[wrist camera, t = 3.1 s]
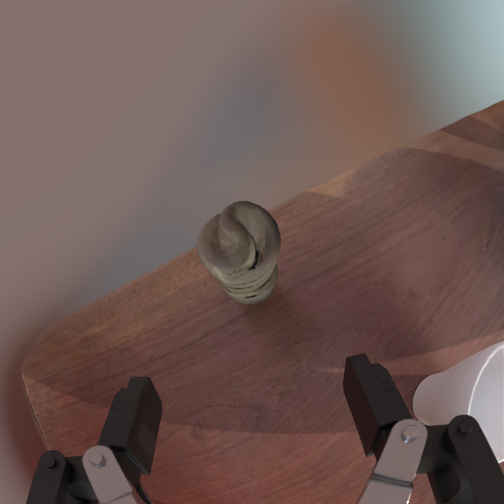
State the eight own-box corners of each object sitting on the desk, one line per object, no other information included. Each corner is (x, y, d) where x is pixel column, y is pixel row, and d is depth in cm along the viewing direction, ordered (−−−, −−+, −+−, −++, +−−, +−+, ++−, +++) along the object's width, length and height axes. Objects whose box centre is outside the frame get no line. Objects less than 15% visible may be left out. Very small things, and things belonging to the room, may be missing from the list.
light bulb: (248, 328, 31) (231, 291, 17) (213, 291, 32) (173, 229, 18) (286, 291, 32) (300, 227, 18) (251, 257, 34) (239, 176, 20)
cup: (406, 457, 24) (474, 489, 11) (383, 380, 27) (452, 380, 15) (474, 412, 24) (550, 415, 12) (453, 340, 28) (530, 315, 16)
